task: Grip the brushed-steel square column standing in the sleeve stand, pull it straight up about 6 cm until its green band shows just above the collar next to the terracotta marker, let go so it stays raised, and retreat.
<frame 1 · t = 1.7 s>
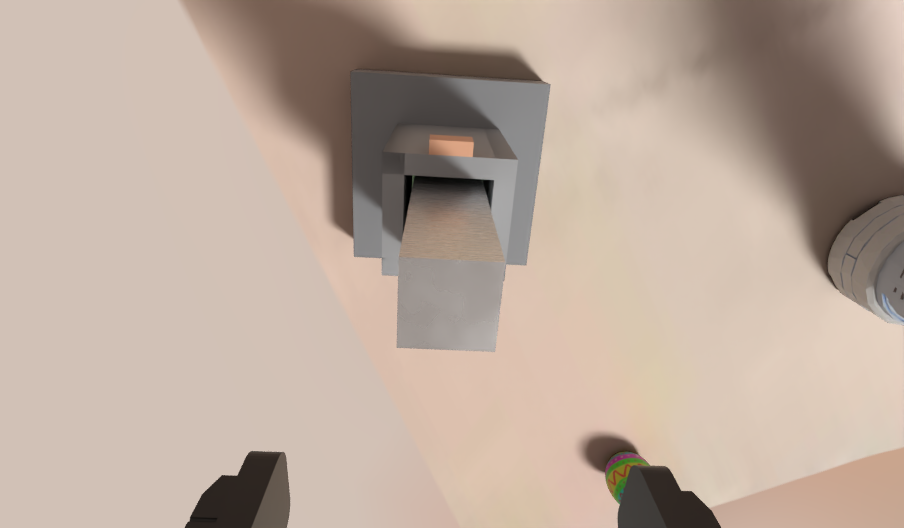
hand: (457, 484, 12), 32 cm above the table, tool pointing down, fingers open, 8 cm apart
stand: (445, 167, 41), on the table
column: (446, 221, 29), point 13 cm above the table, slide at 0.0 cm
egg: (622, 461, 55), on the table
canister: (881, 247, 45), on the table
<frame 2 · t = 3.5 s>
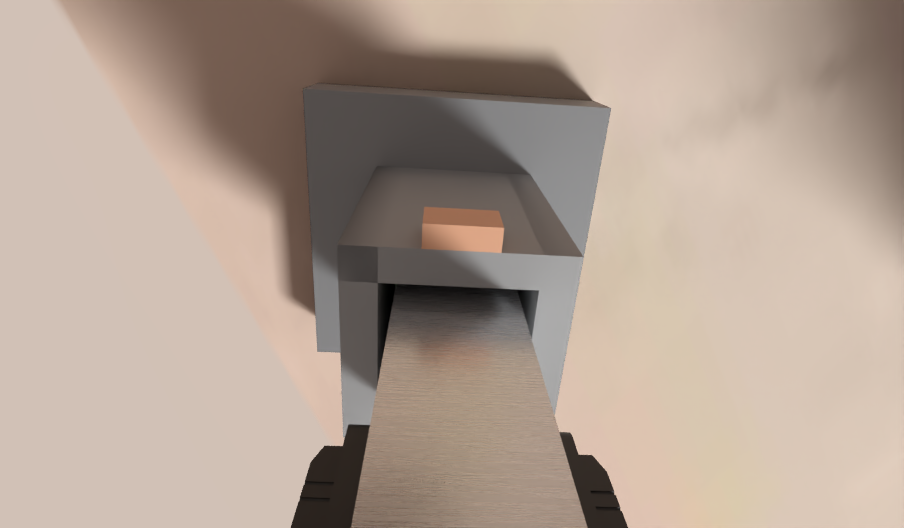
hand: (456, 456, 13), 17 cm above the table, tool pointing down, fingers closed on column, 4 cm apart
stand: (448, 222, 28), on the table
column: (453, 357, 16), point 13 cm above the table, slide at 0.0 cm, touching gripper
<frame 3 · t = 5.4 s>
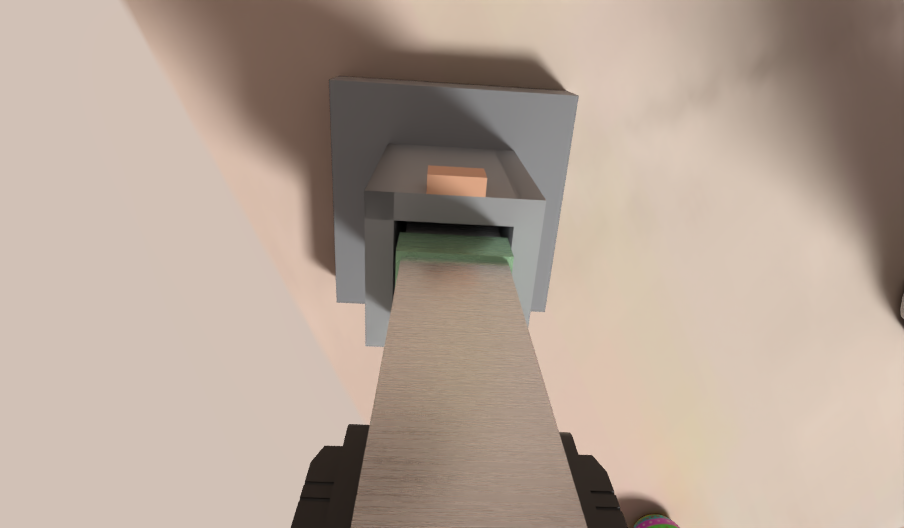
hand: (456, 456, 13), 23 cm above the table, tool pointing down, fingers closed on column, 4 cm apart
stand: (447, 193, 34), on the table
column: (453, 357, 16), point 19 cm above the table, slide at 5.8 cm, touching gripper
egg: (650, 523, 48), on the table
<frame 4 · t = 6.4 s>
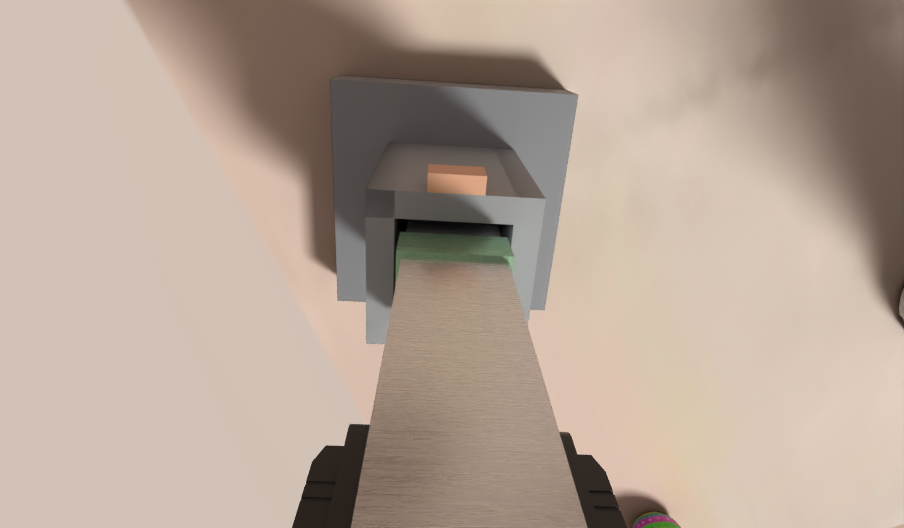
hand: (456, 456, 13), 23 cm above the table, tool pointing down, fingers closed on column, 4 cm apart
stand: (447, 192, 34), on the table
column: (453, 357, 16), point 19 cm above the table, slide at 6.0 cm, touching gripper
egg: (649, 521, 48), on the table
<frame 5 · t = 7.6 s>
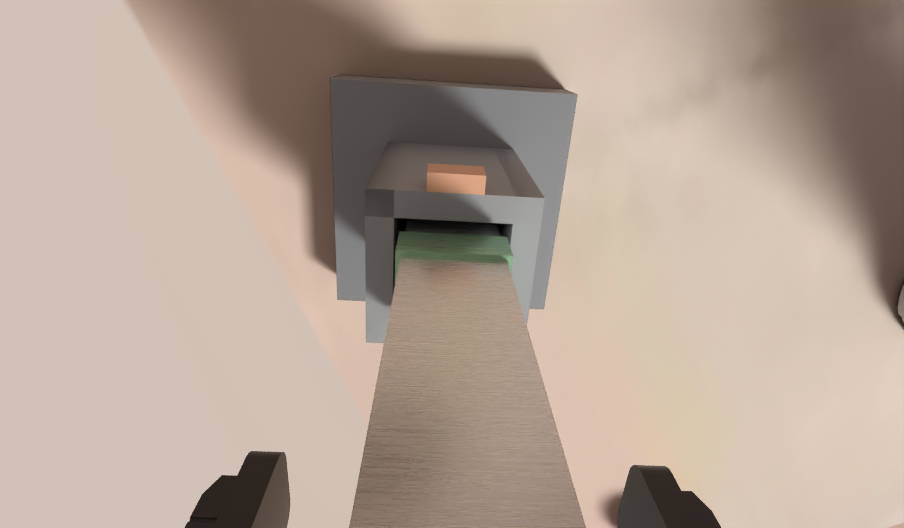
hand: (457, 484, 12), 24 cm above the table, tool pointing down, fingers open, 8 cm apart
stand: (447, 192, 34), on the table
column: (452, 356, 16), point 19 cm above the table, slide at 6.0 cm
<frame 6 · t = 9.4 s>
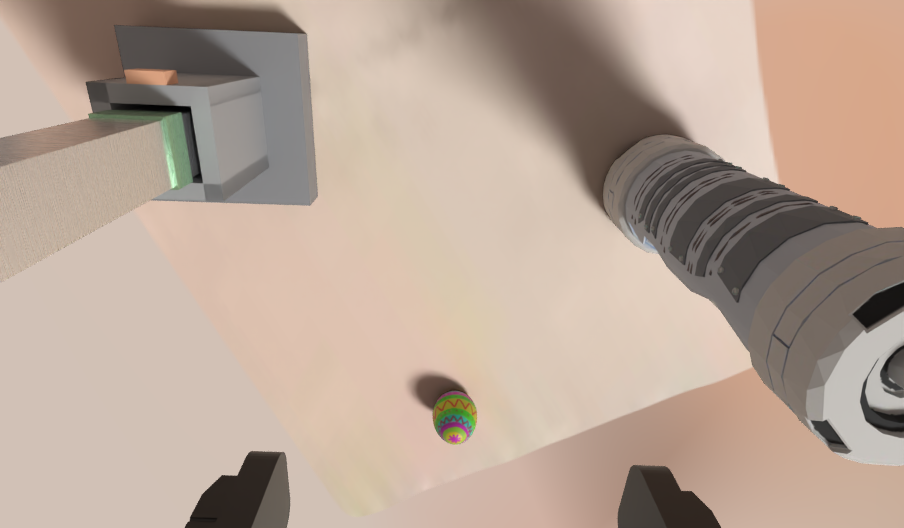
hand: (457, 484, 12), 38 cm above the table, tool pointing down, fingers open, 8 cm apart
stand: (232, 116, 45), on the table
column: (98, 166, 27), point 19 cm above the table, slide at 6.0 cm
egg: (454, 400, 58), on the table
canister: (653, 186, 48), on the table
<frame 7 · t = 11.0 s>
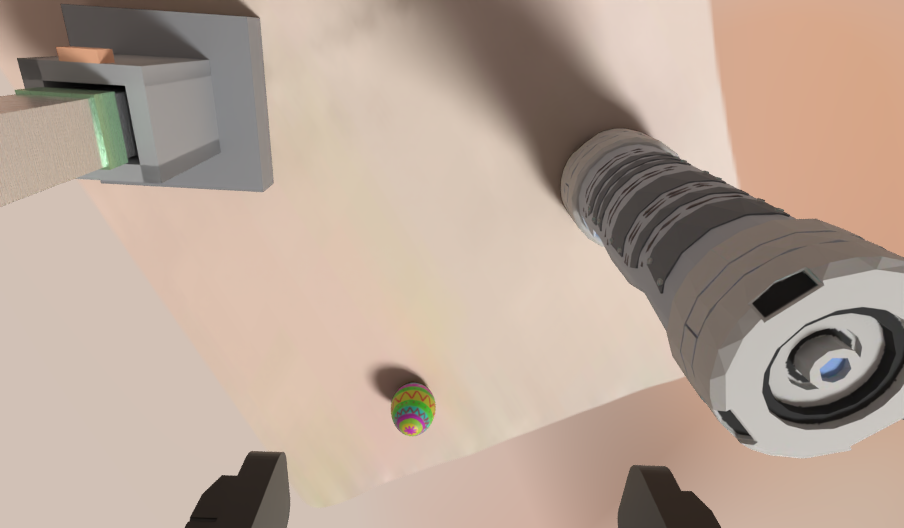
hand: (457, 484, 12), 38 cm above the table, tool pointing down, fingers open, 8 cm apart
stand: (186, 100, 44), on the table
column: (18, 142, 27), point 19 cm above the table, slide at 6.0 cm
egg: (414, 392, 58), on the table
canister: (611, 180, 48), on the table
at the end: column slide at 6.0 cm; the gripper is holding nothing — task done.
